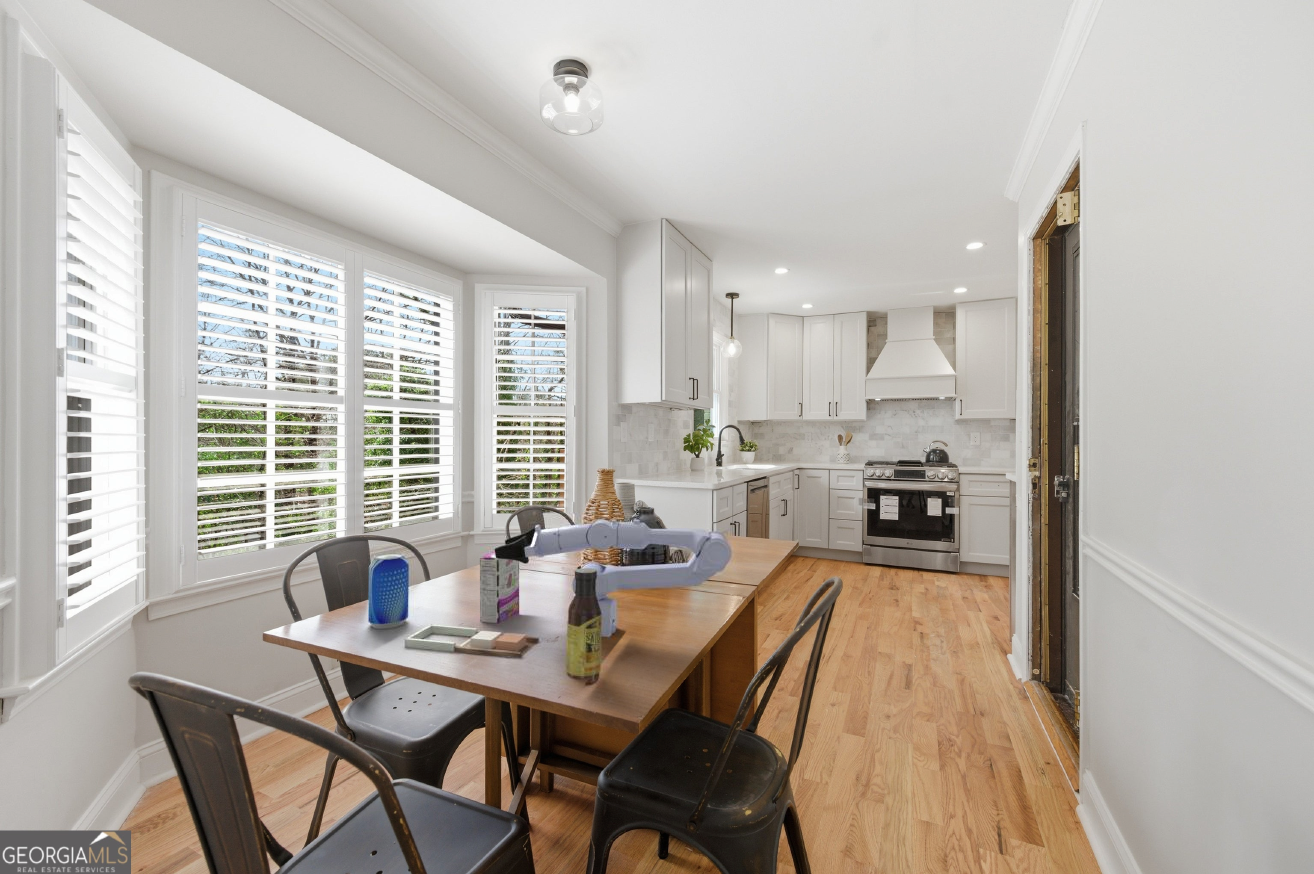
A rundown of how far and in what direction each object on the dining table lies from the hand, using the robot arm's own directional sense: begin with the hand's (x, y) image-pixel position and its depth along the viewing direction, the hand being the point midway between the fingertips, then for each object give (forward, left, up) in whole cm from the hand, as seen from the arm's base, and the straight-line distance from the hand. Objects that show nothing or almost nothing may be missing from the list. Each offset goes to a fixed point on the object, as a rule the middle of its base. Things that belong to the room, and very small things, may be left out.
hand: (500, 548), depth 126 cm
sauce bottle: (-26, +18, -19) cm, 36 cm away
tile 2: (-8, +10, -18) cm, 22 cm away
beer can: (+28, 0, -19) cm, 34 cm away
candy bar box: (+4, -8, -19) cm, 22 cm away
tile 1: (-2, +10, -18) cm, 20 cm away
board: (-5, +10, -19) cm, 22 cm away
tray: (+8, +10, -19) cm, 23 cm away
